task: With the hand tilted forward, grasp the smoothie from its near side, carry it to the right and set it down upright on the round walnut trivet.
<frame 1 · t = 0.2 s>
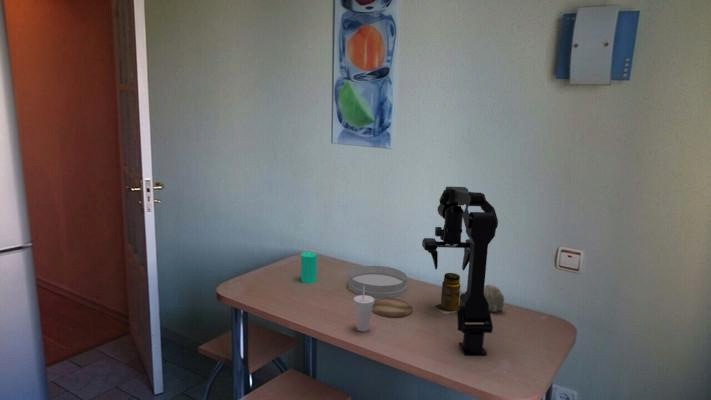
hand: (449, 269, 167), 14 cm above the table, tool pointing down, fingers open, 9 cm apart
smoothie: (362, 329, 153), on the table
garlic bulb: (489, 309, 172), on the table
condiment: (447, 309, 171), on the table
trivet: (391, 308, 169), on the table
candle: (308, 280, 192), on the table
dish: (377, 288, 188), on the table
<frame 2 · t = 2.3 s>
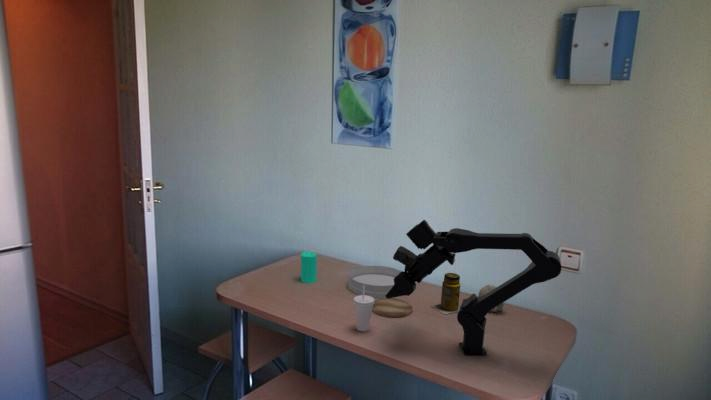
hand: (390, 291, 148), 13 cm above the table, tool tilted 45°, fingers open, 9 cm apart
nothing on the table moved.
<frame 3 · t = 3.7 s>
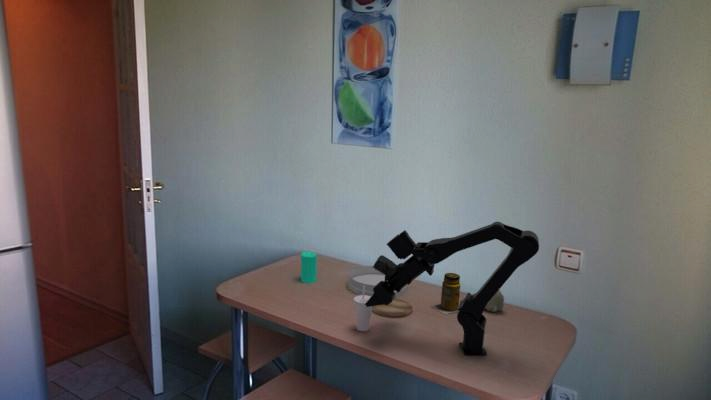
hand: (370, 299, 151), 10 cm above the table, tool tilted 45°, fingers open, 9 cm apart
nothing on the table moved.
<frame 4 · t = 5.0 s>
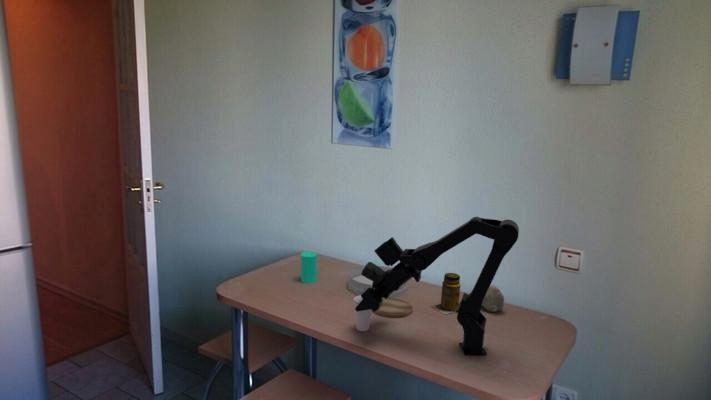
hand: (359, 306, 152), 7 cm above the table, tool tilted 45°, fingers closed on smoothie, 6 cm apart
smoothie: (362, 329, 153), on the table, touching gripper
everything else where it was.
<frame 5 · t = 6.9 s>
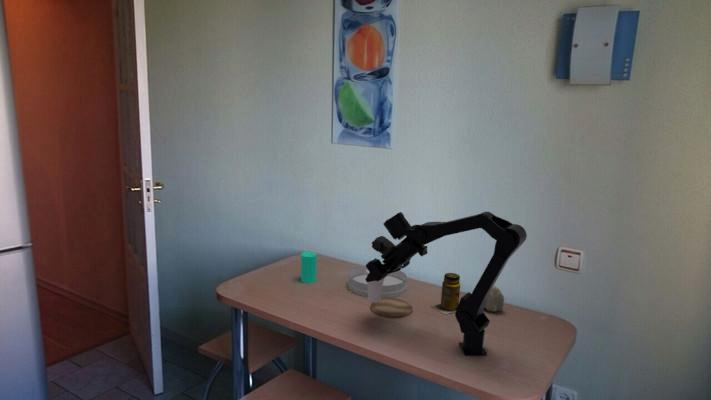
hand: (371, 278, 159), 13 cm above the table, tool tilted 45°, fingers closed on smoothie, 6 cm apart
smoothie: (374, 300, 160), point 6 cm above the table, touching gripper
everything else where it was.
when the fingers open (9 cm above the table, at t = 8.7 s): smoothie drops 1 cm, resting on trivet.
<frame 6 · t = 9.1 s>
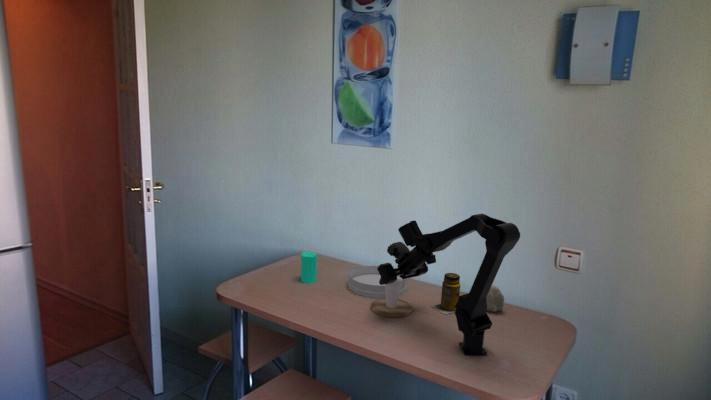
hand: (390, 280, 168), 10 cm above the table, tool tilted 45°, fingers open, 9 cm apart
smoothie: (391, 306, 168), point 1 cm above the table, touching trivet
everything else where it was.
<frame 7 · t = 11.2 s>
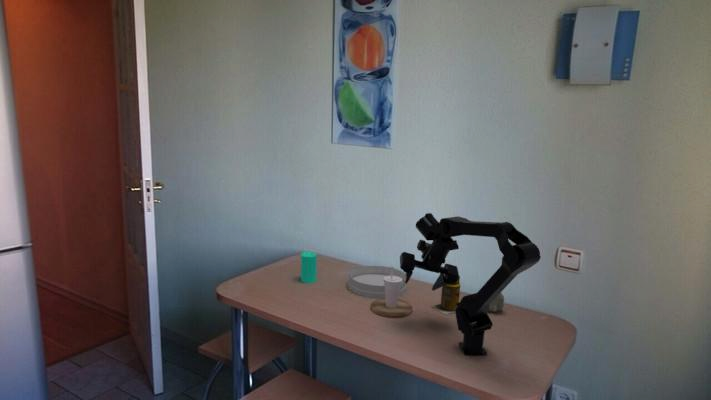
hand: (419, 286, 160), 11 cm above the table, tool tilted 30°, fingers open, 9 cm apart
nothing on the table moved.
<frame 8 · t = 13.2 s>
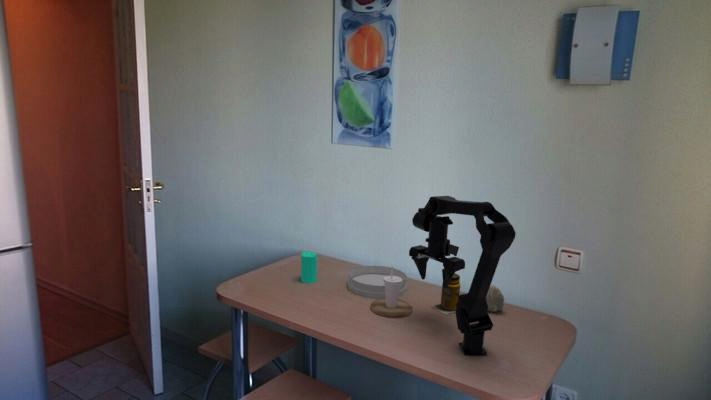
hand: (434, 283, 157), 13 cm above the table, tool pointing down, fingers open, 9 cm apart
nothing on the table moved.
at the end: smoothie 0.1 cm from the trivet (horizontally); smoothie tilted 0°; the gripper is holding nothing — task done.
